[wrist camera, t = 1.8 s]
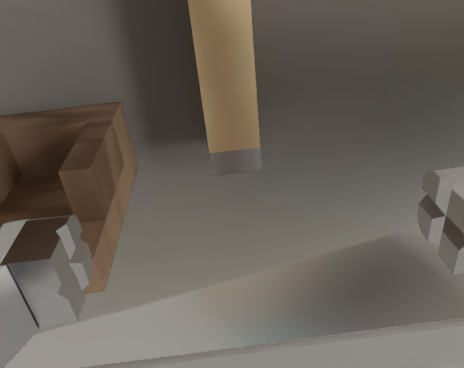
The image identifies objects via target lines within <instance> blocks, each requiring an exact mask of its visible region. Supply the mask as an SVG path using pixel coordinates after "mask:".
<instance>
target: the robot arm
mask: <svg viewBox="0 0 464 368" xmlns="http://www.w3.org/2000/svg"><path fill="white" fill-rule="evenodd" d="M422 189H423V190H424V191H425V193H426V194H427V195H426V196H425V197H424V198H423V199H422V200H421V202H420V203H419V207H418V214H417V216H418V222H419V227H420V229H421V232H422V234H423V235H424V237H425V238H426V239H427V241H429V242H431V243H433V244H435V245H437V246H439V250H438V255H439V256H440V258H441V259H442V260H443V261H444V263H445V264H446V265H447V266H448V268H449V269H450V270H451V272H452V273H453V274H459V273H464V166H463V167H456V168H450V169H443V170H436V171H429V172H426V174H425V176H424V178H423V183H422ZM81 232H82V227H81V224H80V222H79V219H78V218H77V217H76V216H75V215H65V216H55V217H45V218H35V219H25V220H18V221H10V222H7V223H4V224H3V226H2V227H1V229H0V368H4V367H5V366H6V365H7V364H8V363H9V361H10V360H11V359H12V358H13V357H14V356H15V355H16V354H17V353H18V352H19V351H20V350H21V348H22V347H23V346H24V345H25V344H26V343H27V342H28V341H29V340H30V339H31V338H32V337H33V336H34V335H35V334H36V332H37V331H38V330H39V329H38V328H41V327H48V326H54V325H61V324H67V323H74V322H78V319H79V316H80V313H81V310H82V306H83V303H84V300H85V297H84V295H83V292H82V290H83V289H84V288H85V287H87V286H88V285H89V284H90V280H91V277H92V263H93V262H92V257H91V252H90V249H89V246H88V244H87V243H85V242H84V241H82V240H81V239H80V238H79V237H80V235H81ZM82 368H464V318H461V319H453V320H445V321H438V322H430V323H422V324H414V325H406V326H399V327H390V328H383V329H376V330H367V331H359V332H352V333H344V334H336V335H329V336H321V337H313V338H306V339H298V340H291V341H283V342H276V343H267V344H259V345H252V346H244V347H237V348H229V349H221V350H214V351H206V352H198V353H191V354H184V355H175V356H168V357H160V358H152V359H144V360H137V361H129V362H121V363H114V364H106V365H98V366H90V367H82Z"/></svg>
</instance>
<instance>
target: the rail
mask: <svg viewBox="0 0 464 368" xmlns="http://www.w3.org/2000/svg"><path fill="white" fill-rule="evenodd" d="M188 7H189V14H190V21H191V28H192V35H193V42H194V49H195V56H196V63H197V70H198V77H199V84H200V92H201V99H202V106H203V113H204V120H205V127H206V134H207V141H208V148H209V155H210V162H211V169H212V176H213V175H221V174H230V173H238V172H246V171H255V170H262V164H261V149H260V134H259V119H258V104H257V89H256V74H255V59H254V44H253V29H252V14H251V0H188Z"/></svg>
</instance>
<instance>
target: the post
mask: <svg viewBox="0 0 464 368" xmlns="http://www.w3.org/2000/svg"><path fill="white" fill-rule="evenodd" d="M136 171H137V165H136V161H135V157H134V153H133V149H132V145H131V141H130V137H129V133H128V129H127V125H126V121H125V117H124V113H123V109H122V105H121V102H118V103H110V104H101V105H92V106H84V107H75V108H67V109H58V110H50V111H41V112H33V113H24V114H16V115H7V116H0V229H1V227H2V226H3V224H4V223H7V222H10V221H18V220H25V219H35V218H45V217H55V216H65V215H75V216H76V217H77V218H78V219H79V222H80V224H81V227H82V232H81V235H80V237H79V238H80V239H81V240H82V241H84V242H85V243H87V244H88V246H89V249H90V252H91V257H92V262H93V263H92V277H91V280H90V284H89V285H88V286H87V287H85V288H84V289H83V290H82V292H83V294H85V293H93V292H101V291H105V288H106V284H107V281H108V277H109V273H110V269H111V266H112V262H113V258H114V254H115V250H116V247H117V243H118V239H119V235H120V232H121V228H122V224H123V220H124V216H125V213H126V209H127V205H128V201H129V198H130V194H131V190H132V186H133V182H134V179H135V175H136Z"/></svg>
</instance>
